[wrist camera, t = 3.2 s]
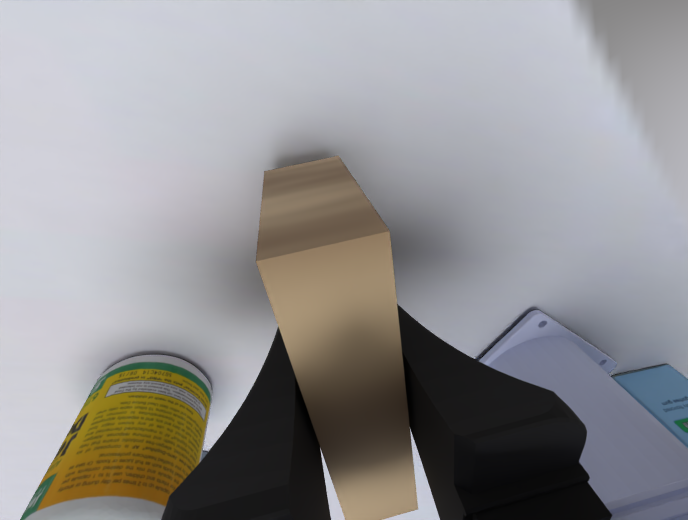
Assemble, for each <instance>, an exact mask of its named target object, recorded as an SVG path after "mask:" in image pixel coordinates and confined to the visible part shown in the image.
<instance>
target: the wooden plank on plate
mask: <svg viewBox="0 0 688 520" xmlns="http://www.w3.org/2000/svg"><path fill="white" fill-rule="evenodd" d="M256 263H257V266H258V269H259V272H260V275H261V278H262V280H263V283H264V286H265V289H266V292H267V295H268V298H269V301H270V304H271V306H272V309H273V312H274V315H275V318H276V321H277V324H278V327H279V329H280V332H281V335H282V338H283V341H284V344H285V347H286V350H287V353H288V355H289V358H290V361H291V364H292V367H293V370H294V373H295V376H296V378H297V381H298V384H299V387H300V390H301V393H302V396H303V399H304V402H305V404H306V407H307V410H308V413H309V416H310V419H311V422H312V425H313V427H314V430H315V433H316V436H317V439H318V442H319V445H320V448H321V451H322V453H323V456H324V459H325V462H326V465H327V468H328V471H329V474H330V477H331V479H332V482H333V485H334V488H335V491H336V494H337V497H338V500H339V502H340V505H341V508H342V511H343V514H344V517H345V520H382V519H385V518H389V517H393V516H396V515H400V514H403V513H407V512H410V511H414V510H417V509H418V504H417V494H416V484H415V474H414V464H413V455H412V445H411V435H410V425H409V415H408V406H407V396H406V386H405V376H404V366H403V357H402V347H401V337H400V327H399V317H398V308H397V298H396V288H395V278H394V268H393V259H392V249H391V239H390V231H389V229H388V228H387V226H386V225H385V223H384V222H383V220H382V219H381V218H380V216H379V215H378V213H377V212H376V210H375V209H374V207H373V206H372V204H371V203H370V201H369V200H368V198H367V197H366V196H365V194H364V193H363V191H362V190H361V188H360V187H359V185H358V184H357V182H356V181H355V179H354V178H353V176H352V175H351V174H350V172H349V171H348V169H347V168H346V166H345V165H344V163H343V162H342V160H341V159H340V157H339V156H335V157H330V158H325V159H321V160H316V161H311V162H306V163H302V164H297V165H292V166H287V167H283V168H278V169H273V170H268V171H264V182H263V192H262V203H261V213H260V224H259V234H258V245H257V255H256Z"/></svg>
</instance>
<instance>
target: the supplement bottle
mask: <svg viewBox="0 0 688 520" xmlns="http://www.w3.org/2000/svg"><path fill="white" fill-rule="evenodd" d="M211 402H212V390H211V385H210V383H209V381H208V380H207V378H206V377H205V376H204V375H203V374H202V373H201V372H200V371H199V370H198V369H197V368H196V367H195V366H193V365H192V364H190V363H188V362H186V361H184V360H182V359H179V358H176V357H172V356H167V355H141V356H136V357H131V358H128V359H125V360H123V361H121V362H119V363H117V364H115V365H113V366H112V367H110V368H109V369H108V370H106V371H105V372H104V373H103V374H102V375H101V376H100V377H99V379H98V380H97V382H96V384H95V386H94V387H93V389H92V391H91V393H90V395H89V396H88V398H87V400H86V402H85V404H84V405H83V407H82V409H81V411H80V413H79V415H78V416H77V418H76V420H75V422H74V424H73V426H72V428H71V429H70V431H69V433H68V434H67V436H66V438H65V440H64V442H63V443H62V445H61V447H60V449H59V451H58V453H57V455H56V457H55V458H54V460H53V462H52V463H51V465H50V467H49V469H48V471H47V472H46V474H45V476H44V478H43V479H42V481H41V483H40V485H39V487H38V489H37V490H36V492H35V494H34V496H33V497H32V499H31V501H30V503H29V504H28V506H27V508H26V510H25V512H24V513H23V515H22V517H21V519H20V520H161V519H162V515H163V513H164V510H165V507H166V505H167V502H168V498H169V496H170V495H171V494H172V492H173V491H174V490H175V489H176V488H177V487H178V486H179V485H180V484H181V483H182V482H183V481H184V480H185V478H186V477H187V476H188V475H189V474H190V473H191V472H192V471H193V470H194V469H195V467H196V466H197V465H198V464H199V463H200V462H201V457H202V452H203V446H204V440H205V435H206V429H207V424H208V419H209V413H210V407H211Z"/></svg>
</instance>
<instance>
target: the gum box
mask: <svg viewBox="0 0 688 520" xmlns="http://www.w3.org/2000/svg"><path fill="white" fill-rule="evenodd" d="M612 378H613V379H614V380H615V381H616V382H617V383H618V384H619V385H620V386H621V387H622V388H623V389H624V390H626V391H627V392H628V393H629V394H630V395H631V396H632V397H633V398H634V399H635V400H636V401H637V402H638V403H640V404H641V405H642V406H643V407H644V408H645V409H646V410H647V411H648V412H649V413H650V414H651V415H652V416H653V417H655V418H656V419H657V420H658V421H659V422H660V423H661V424H662V425H663V426H664V427H665V428H666V429H667V430H668V431H670V432H671V433H672V434H673V435H674V436H675V437H676V438H677V439H678V440H679V441H680V442H681V443H682V444H683V445H685V446H686V447H687V448H688V379H687V378H685V377H684V376H683V375H682V374H680V373H679V372H678V371H677V370H675V369H674V368H673V367H671V366H670V365H668V364H664V365H660V366H655V367H650V368H645V369H640V370H634V371H630V372H626V373H621V374H617V375H613V376H612Z"/></svg>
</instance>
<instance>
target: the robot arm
mask: <svg viewBox="0 0 688 520" xmlns="http://www.w3.org/2000/svg"><path fill="white" fill-rule="evenodd" d="M397 308H398V317H399V327H400V337H401V347H402V357H403V366H404V376H405V386H406V396H407V406H408V415H409V425H410V429H411V432H412V435H413V438H414V441H415V443H416V446H417V449H418V452H419V455H420V458H421V461H422V464H423V468H424V471H425V474H426V477H427V480H428V483H429V486H430V489H431V492H432V495H433V498H434V501H435V505H436V508H437V511H438V514H439V517H440V520H688V448H687V447H686V446H685V445H683V444H682V443H681V442H680V441H679V440H678V439H677V438H676V437H675V436H674V435H673V434H672V433H671V432H670V431H668V430H667V429H666V428H665V427H664V426H663V425H662V424H661V423H660V422H659V421H658V420H657V419H656V418H655V417H653V416H652V415H651V414H650V413H649V412H648V411H647V410H646V409H645V408H644V407H643V406H642V405H641V404H640V403H638V402H637V401H636V400H635V399H634V398H633V397H632V396H631V395H630V394H629V393H628V392H627V391H626V390H624V389H623V388H622V387H621V386H620V385H619V384H618V383H617V382H616V381H615V380H614V379H613V378H612V377H611V376H609V375H608V373H609V372H611V371H612V370H613V369H614V368H615V367H616V365H617V363H616V361H615V360H613V359H612V358H611V357H609V356H608V355H606V354H605V353H603V352H602V351H600V350H599V349H597V348H596V347H594V346H593V345H591V344H590V343H588V342H587V341H585V340H584V339H582V338H581V337H579V336H578V335H576V334H575V333H573V332H572V331H570V330H569V329H567V328H566V327H564V326H563V325H561V324H560V323H558V322H557V321H555V320H554V319H552V318H551V317H549V316H548V315H546V314H545V313H543V312H541V311H540V310H534V311H531V312H530V313H529V314H527V315H526V316H525V317H524V318H523V319H522V320H521V321H520V322H519V323H518V324H517V325H516V326H515V327H514V328H513V329H512V330H511V331H509V332H508V333H507V334H506V335H505V336H504V337H503V338H502V339H501V340H500V341H499V342H498V343H497V344H496V345H495V346H494V347H493V348H492V349H490V350H489V351H488V352H487V353H486V354H485V355H484V356H483V357H482V358H481V359H480V360H479V361H477V360H475V359H473V358H471V357H469V356H468V355H466V354H464V353H462V352H460V351H459V350H457V349H455V348H454V347H452V346H451V345H449V344H447V343H446V342H444V341H443V340H441V339H440V338H438V337H437V336H436V335H434V334H433V333H432V332H430V331H429V330H427V329H426V328H425V327H424V326H422V325H421V324H420V323H418V322H417V321H416V320H415V319H414V318H412V317H411V316H410V315H409V314H408V313H407V312H405V311H404V310H403V309H402V308H401V307H400V306H399V305H398V304H397ZM161 520H331V517H330V511H329V505H328V498H327V492H326V485H325V478H324V472H323V465H322V458H321V451H320V445H319V442H318V439H317V436H316V433H315V430H314V427H313V425H312V422H311V419H310V416H309V413H308V410H307V407H306V404H305V402H304V399H303V396H302V393H301V390H300V387H299V384H298V381H297V378H296V376H295V373H294V370H293V367H292V364H291V361H290V358H289V355H288V353H287V350H286V347H285V344H284V341H283V338H282V335H281V332H280V329H279V327H278V329H277V332H276V335H275V338H274V341H273V343H272V346H271V348H270V351H269V353H268V356H267V358H266V360H265V363H264V365H263V367H262V369H261V371H260V373H259V375H258V377H257V379H256V381H255V383H254V385H253V387H252V389H251V390H250V392H249V394H248V396H247V397H246V399H245V401H244V402H243V404H242V406H241V407H240V409H239V410H238V412H237V413H236V415H235V416H234V418H233V420H232V421H231V422H230V424H229V425H228V427H227V428H226V430H225V431H224V432H223V434H222V435H221V436H220V438H219V439H218V440H217V441H216V443H215V444H214V445H213V447H212V448H211V449H210V450H209V452H208V453H207V454H206V456H205V457H204V458H203V459H202V460H201V462H200V463H199V464H198V465H197V466H196V467H195V469H194V470H193V471H192V472H191V473H190V474H189V475H188V476H187V477H186V478H185V480H184V481H183V482H182V483H181V484H180V485H179V486H178V487H177V488H176V489H175V490H174V491H173V492H172V494H171V495H170V496H169V498H168V502H167V505H166V507H165V510H164V513H163V515H162V519H161Z"/></svg>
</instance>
